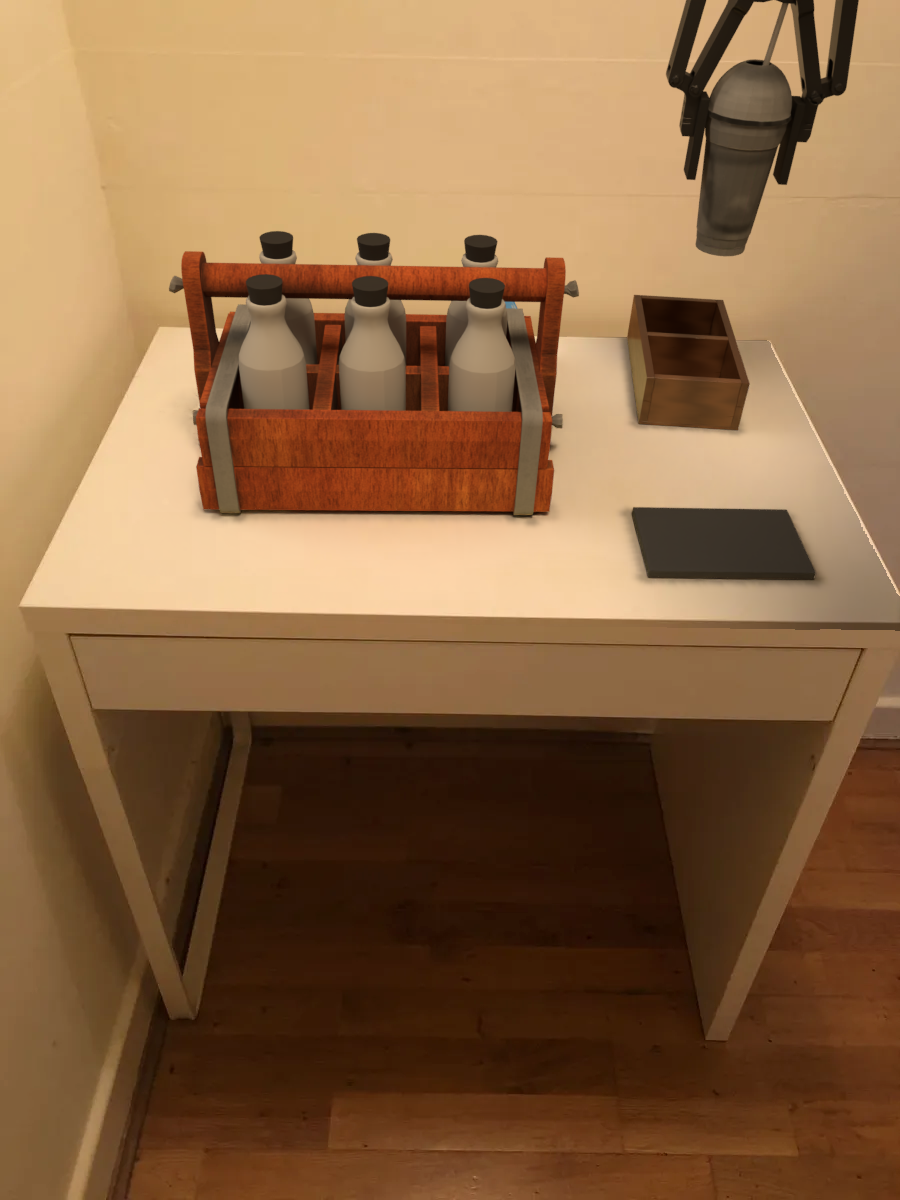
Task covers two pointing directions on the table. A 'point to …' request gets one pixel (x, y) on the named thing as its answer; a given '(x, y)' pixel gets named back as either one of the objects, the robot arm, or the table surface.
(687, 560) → the mat
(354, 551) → the table surface
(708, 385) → the wooden compartment box
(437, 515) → the table surface
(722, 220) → the beverage cup
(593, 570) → the table surface
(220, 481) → the milk bottle holder
